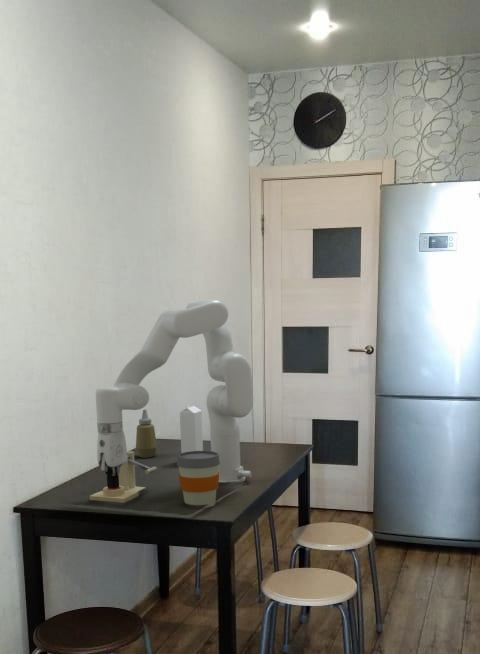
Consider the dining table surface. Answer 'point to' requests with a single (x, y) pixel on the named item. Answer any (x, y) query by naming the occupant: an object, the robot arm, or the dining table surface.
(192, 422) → the milk
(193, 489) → the reusable coffee cup
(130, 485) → the switch bracket
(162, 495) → the dining table surface
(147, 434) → the squeeze bottle
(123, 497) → the control box
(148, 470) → the switch lever
